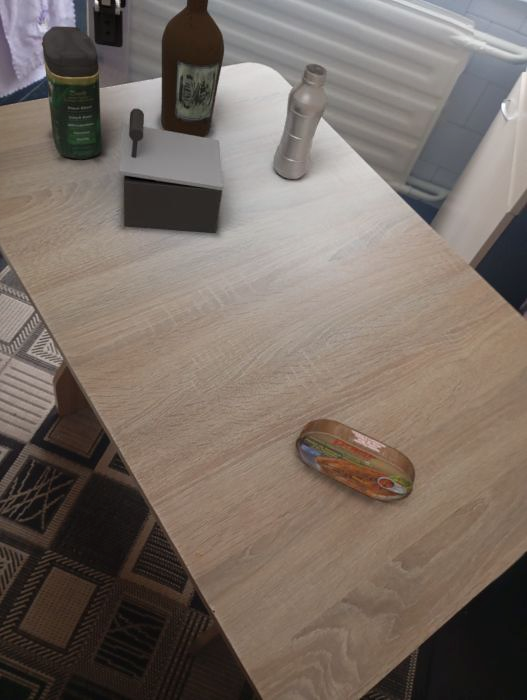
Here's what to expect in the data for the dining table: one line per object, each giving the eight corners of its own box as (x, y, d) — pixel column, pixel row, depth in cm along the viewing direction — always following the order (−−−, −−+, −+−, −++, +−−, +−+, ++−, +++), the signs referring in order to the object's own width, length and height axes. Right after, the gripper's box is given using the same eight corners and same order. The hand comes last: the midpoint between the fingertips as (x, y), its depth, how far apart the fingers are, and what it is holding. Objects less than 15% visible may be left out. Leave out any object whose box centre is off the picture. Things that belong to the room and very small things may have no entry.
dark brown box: (124, 226, 90) (124, 182, 83) (127, 178, 97) (127, 134, 90) (215, 233, 93) (222, 191, 86) (211, 186, 100) (218, 143, 93)
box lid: (118, 174, 82) (121, 141, 77) (121, 126, 88) (124, 93, 84) (222, 190, 86) (230, 159, 82) (218, 143, 93) (225, 112, 88)
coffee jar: (106, 159, 98) (102, 54, 84) (59, 163, 96) (46, 55, 81) (95, 126, 103) (89, 20, 88) (49, 128, 100) (36, 19, 85)
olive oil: (152, 109, 109) (157, -35, 89) (204, 108, 113) (221, -30, 93) (165, 143, 104) (174, -1, 84) (219, 141, 108) (241, 2, 88)
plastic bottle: (299, 188, 104) (330, 86, 88) (265, 174, 105) (290, 70, 89) (309, 169, 108) (341, 68, 92) (277, 156, 108) (303, 53, 92)
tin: (287, 456, 73) (304, 426, 66) (296, 437, 74) (313, 405, 68) (395, 510, 71) (423, 485, 64) (401, 489, 73) (429, 462, 66)
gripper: (75, -185, 61) (85, -13, 74) (58, -129, 51) (73, 57, 65) (146, -169, 62) (143, -4, 76) (143, -112, 53) (140, 66, 66)
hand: (111, 24), depth 70 cm, fingers open, 9 cm apart
